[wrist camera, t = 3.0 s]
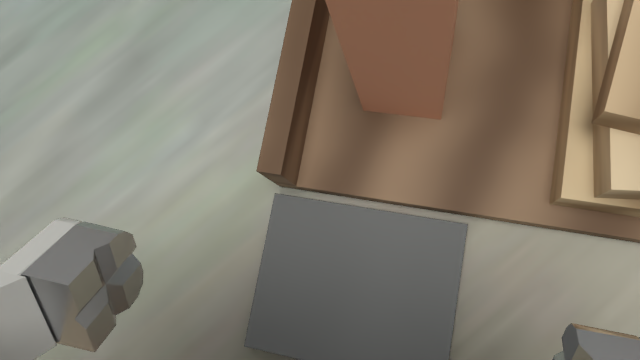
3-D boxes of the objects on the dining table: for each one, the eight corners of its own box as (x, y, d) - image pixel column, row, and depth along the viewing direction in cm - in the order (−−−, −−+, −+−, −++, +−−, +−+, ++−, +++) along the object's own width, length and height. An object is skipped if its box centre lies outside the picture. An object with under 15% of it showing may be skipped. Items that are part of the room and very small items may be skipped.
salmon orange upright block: (363, 110, 26) (317, -23, 14) (379, 22, 27) (347, -171, 15) (441, 119, 25) (457, -16, 14) (455, 28, 26) (482, -173, 14)
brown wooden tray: (279, 186, 27) (256, 171, 23) (323, -29, 29) (308, -76, 25) (718, 255, 22) (780, 250, 19) (734, -8, 24) (792, -61, 21)
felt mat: (247, 344, 26) (244, 346, 25) (278, 195, 27) (274, 193, 27) (443, 391, 24) (444, 393, 23) (466, 225, 25) (467, 224, 24)
